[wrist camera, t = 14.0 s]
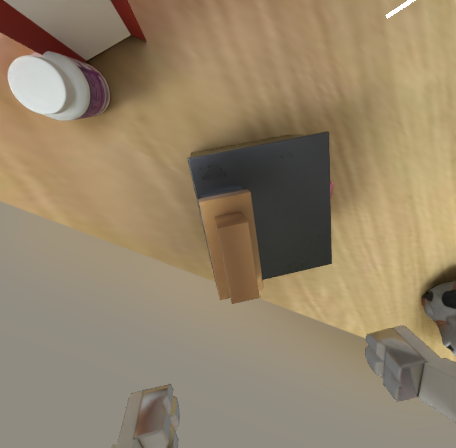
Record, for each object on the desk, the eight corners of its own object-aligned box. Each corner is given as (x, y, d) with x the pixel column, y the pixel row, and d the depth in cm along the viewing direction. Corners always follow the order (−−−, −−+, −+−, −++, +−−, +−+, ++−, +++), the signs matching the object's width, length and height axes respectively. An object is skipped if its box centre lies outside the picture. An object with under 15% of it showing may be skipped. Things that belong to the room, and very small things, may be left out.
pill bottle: (101, 58, 26) (59, 39, 17) (117, 113, 28) (87, 119, 20) (49, 64, 26) (-21, 47, 17) (70, 119, 28) (18, 127, 20)
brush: (243, 184, 23) (259, 200, 18) (255, 273, 27) (272, 309, 21) (197, 193, 23) (199, 211, 17) (216, 282, 26) (223, 320, 21)
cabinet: (292, 132, 32) (334, 130, 23) (299, 231, 37) (336, 262, 28) (188, 151, 31) (187, 158, 22) (210, 250, 36) (217, 290, 27)
